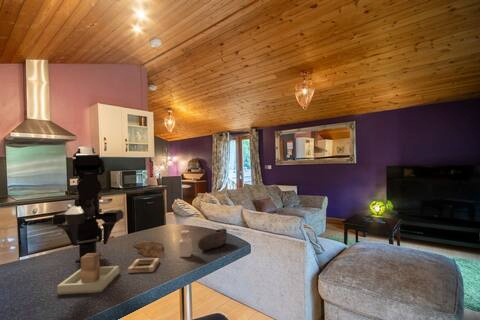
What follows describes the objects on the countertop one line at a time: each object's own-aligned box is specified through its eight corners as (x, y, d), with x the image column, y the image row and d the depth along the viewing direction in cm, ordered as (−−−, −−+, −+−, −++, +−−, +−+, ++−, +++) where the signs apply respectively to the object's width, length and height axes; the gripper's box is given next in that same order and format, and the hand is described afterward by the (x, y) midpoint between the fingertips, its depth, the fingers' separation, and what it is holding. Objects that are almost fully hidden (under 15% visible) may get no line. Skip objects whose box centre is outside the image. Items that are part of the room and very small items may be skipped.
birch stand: (136, 263, 91) (136, 258, 91) (159, 261, 92) (159, 257, 92) (128, 272, 83) (128, 268, 83) (152, 271, 84) (152, 267, 84)
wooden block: (88, 278, 79) (87, 253, 79) (99, 278, 79) (99, 252, 79) (81, 284, 75) (80, 257, 75) (93, 283, 75) (92, 257, 75)
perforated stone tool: (201, 254, 99) (201, 236, 99) (194, 250, 103) (194, 233, 103) (231, 244, 109) (230, 229, 109) (223, 242, 112) (223, 226, 113)
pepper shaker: (182, 253, 99) (182, 229, 99) (192, 253, 99) (191, 229, 99) (179, 257, 95) (178, 232, 96) (189, 257, 95) (188, 232, 95)
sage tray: (82, 275, 83) (81, 267, 83) (119, 273, 83) (118, 265, 83) (57, 294, 71) (57, 285, 71) (101, 292, 71) (100, 283, 71)
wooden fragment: (131, 244, 113) (130, 242, 113) (155, 240, 119) (155, 237, 119) (145, 263, 92) (145, 260, 92) (174, 256, 98) (174, 253, 98)
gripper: (37, 199, 68) (38, 256, 68) (106, 196, 69) (108, 253, 69) (63, 194, 80) (65, 243, 79) (123, 191, 81) (124, 240, 80)
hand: (89, 244), depth 77 cm, fingers open, 9 cm apart
